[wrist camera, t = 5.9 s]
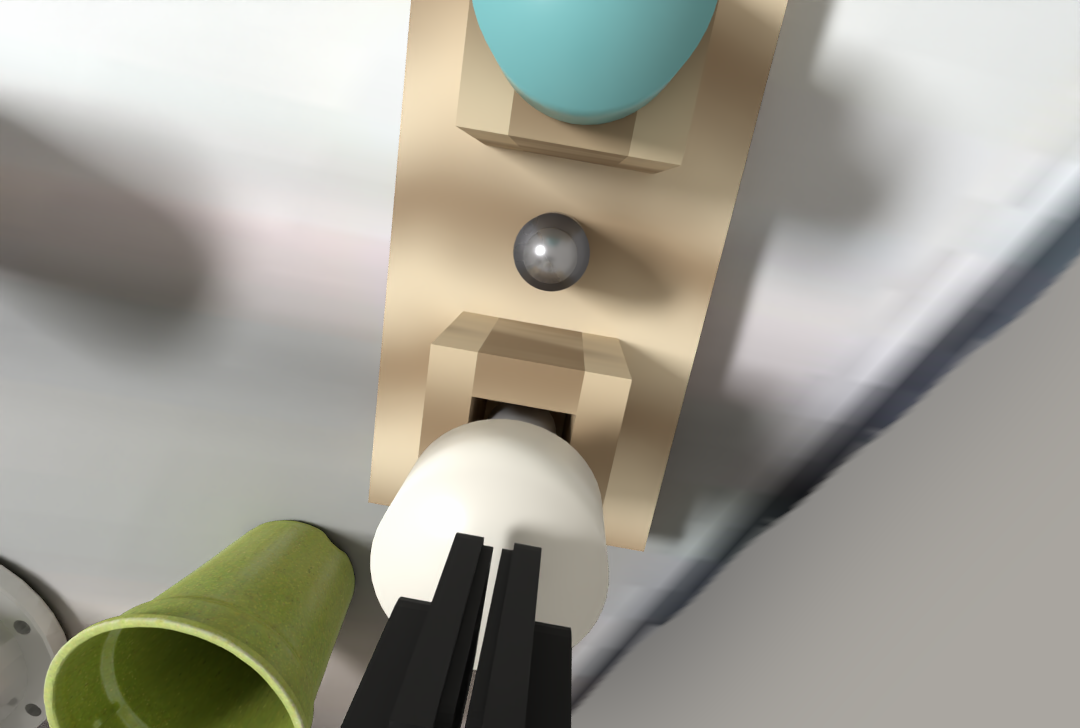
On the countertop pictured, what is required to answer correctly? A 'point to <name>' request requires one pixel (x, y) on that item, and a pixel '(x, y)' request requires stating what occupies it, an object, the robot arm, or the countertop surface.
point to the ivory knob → (499, 516)
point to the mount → (614, 239)
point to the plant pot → (214, 642)
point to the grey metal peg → (551, 251)
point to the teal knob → (591, 51)
